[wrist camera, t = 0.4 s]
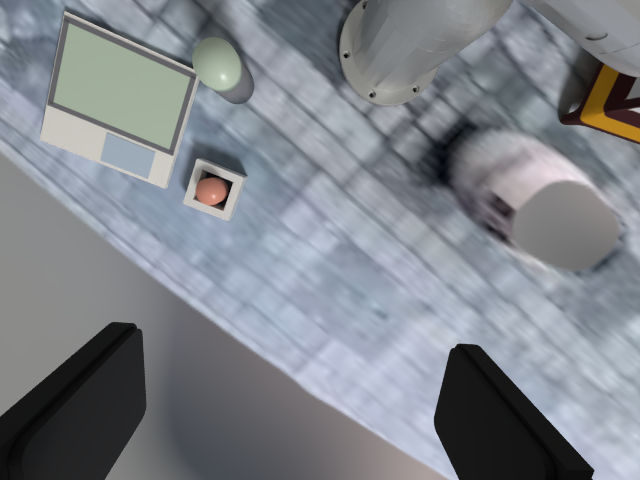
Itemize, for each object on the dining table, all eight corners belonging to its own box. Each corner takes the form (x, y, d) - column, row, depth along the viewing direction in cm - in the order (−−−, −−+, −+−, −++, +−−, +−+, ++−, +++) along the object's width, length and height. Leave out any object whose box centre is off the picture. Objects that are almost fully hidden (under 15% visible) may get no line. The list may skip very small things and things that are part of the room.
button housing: (203, 158, 40) (196, 158, 37) (247, 176, 41) (243, 177, 38) (190, 200, 41) (182, 203, 39) (232, 217, 42) (228, 221, 40)
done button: (207, 173, 39) (200, 174, 36) (231, 183, 40) (226, 184, 37) (200, 196, 40) (192, 199, 37) (223, 205, 40) (217, 209, 37)
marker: (224, 58, 37) (200, 28, 28) (259, 74, 38) (245, 49, 29) (213, 95, 38) (186, 76, 29) (247, 110, 39) (230, 96, 30)
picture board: (69, 14, 35) (63, 10, 34) (201, 73, 37) (198, 71, 36) (45, 140, 38) (38, 139, 37) (167, 188, 41) (164, 188, 40)
